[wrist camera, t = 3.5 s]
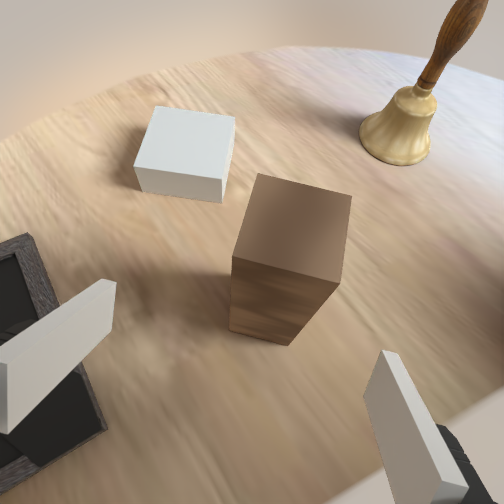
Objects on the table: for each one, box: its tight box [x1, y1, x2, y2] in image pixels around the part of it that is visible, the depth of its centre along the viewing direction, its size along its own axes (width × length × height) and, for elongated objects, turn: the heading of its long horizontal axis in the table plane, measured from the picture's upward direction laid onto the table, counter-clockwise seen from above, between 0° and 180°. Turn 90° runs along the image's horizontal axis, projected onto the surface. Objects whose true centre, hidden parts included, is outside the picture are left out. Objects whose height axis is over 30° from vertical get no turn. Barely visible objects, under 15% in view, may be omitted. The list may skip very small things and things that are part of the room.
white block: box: [133, 105, 235, 203], centre depth 34 cm, size 8×8×4 cm
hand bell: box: [359, 0, 488, 166], centre depth 32 cm, size 8×8×16 cm
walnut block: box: [229, 173, 352, 346], centre depth 22 cm, size 5×5×14 cm
